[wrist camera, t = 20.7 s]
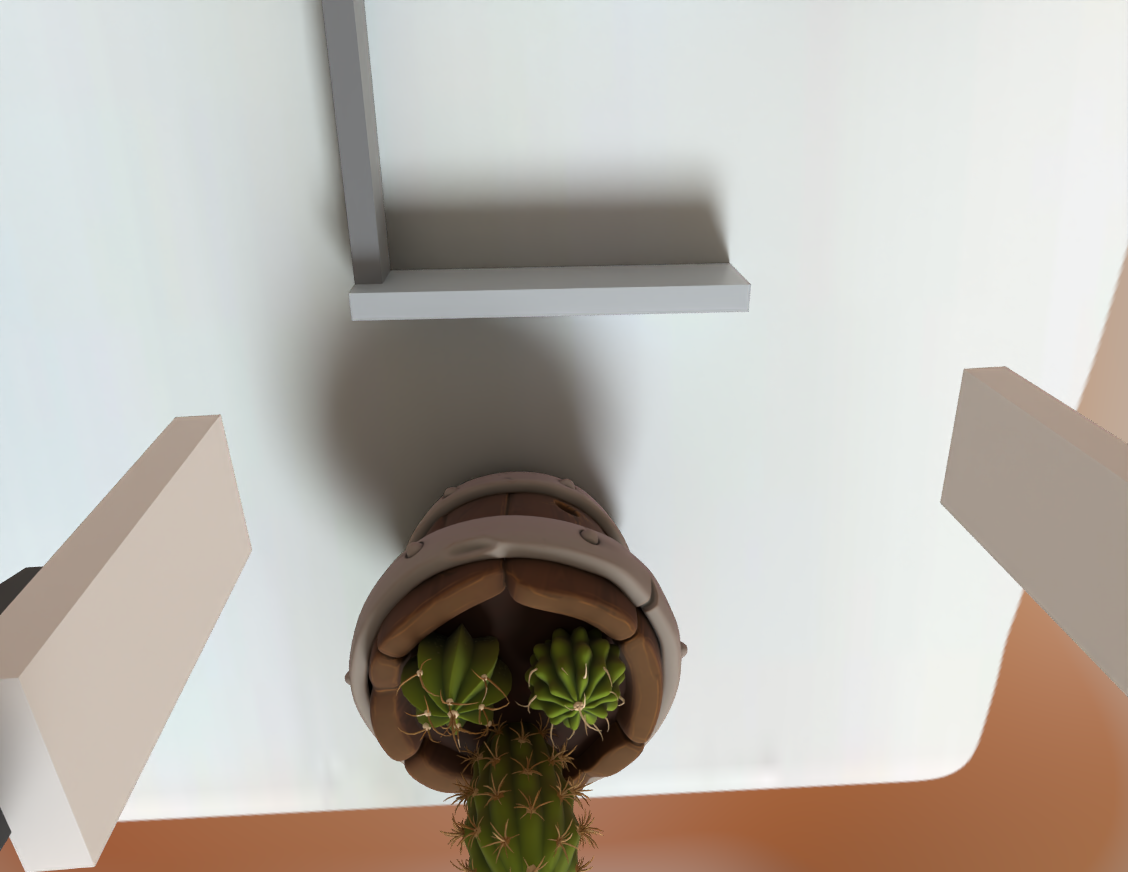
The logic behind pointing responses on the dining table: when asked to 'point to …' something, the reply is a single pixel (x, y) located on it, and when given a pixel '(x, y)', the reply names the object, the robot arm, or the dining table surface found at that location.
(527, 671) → the flowerpot
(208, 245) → the dining table surface
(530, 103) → the dining table surface
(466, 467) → the dining table surface
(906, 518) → the dining table surface
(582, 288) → the u-shaped frame
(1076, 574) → the robot arm
